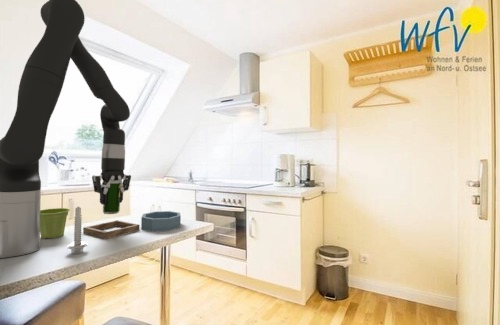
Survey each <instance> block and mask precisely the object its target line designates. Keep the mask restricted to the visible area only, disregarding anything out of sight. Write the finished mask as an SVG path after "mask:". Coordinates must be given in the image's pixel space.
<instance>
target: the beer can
mask: <svg viewBox="0 0 500 325" xmlns="http://www.w3.org/2000/svg"><path fill="white" fill-rule="evenodd" d="M104 185H107V183H104ZM109 185H110V188H108V191H107V193H106V194H107V204H106V205H102V212H103V214H104V215H115V214H118V213H120V210H121V209H120V208H121V207H120V206H121V203H120V186H121V183H120V180H113V181H111V183H110V184H109ZM104 188H105V187H104Z"/></svg>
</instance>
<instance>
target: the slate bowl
mask: <svg viewBox="0 0 500 325" xmlns="http://www.w3.org/2000/svg"><path fill="white" fill-rule="evenodd" d="M140 221H141V224H140V225H141V227H140V229H141V230H144V231H148V232H164V231H165V232H167V231H168V232H169V231H173V230H175V229H179V228H181V221H182V220H181V213H180V212H179V211H178V212H177V211H172V210H169V211H168V210H162V211H161V210H160V211H159V210H158V211H151V212H147V213H143V214H142V215H141V220H140Z"/></svg>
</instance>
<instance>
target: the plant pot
mask: <svg viewBox="0 0 500 325" xmlns="http://www.w3.org/2000/svg"><path fill="white" fill-rule="evenodd" d="M70 210H71V209H70V208H67V207H66V208H65V207H63V208H62V207H58V208H57V207H54V208H46V209H40V239H43V240H44V239H55V238H60V237H62V236H63V235H64V234H65V228H66V223H67V218H68V215H69V212H70Z"/></svg>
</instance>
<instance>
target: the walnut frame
mask: <svg viewBox="0 0 500 325" xmlns="http://www.w3.org/2000/svg"><path fill="white" fill-rule="evenodd" d="M114 227H119V228H117V229H114V230H109V231H107V230H106V231H105V229H110V228H114ZM82 230H83V231H82V233H83V234H86V235H90V236H93V237H97V238H101V239H105V240H108V239H113V238H115V237H119V236H123V235H126V234H130V233H133V232H136V231H137V232H138V231H140V224H137V223H133V222H129V221H128V222H127V221H123V220H111V221H106V222H101V223H97V224H93V225H89V226H84V227H83V228H82Z"/></svg>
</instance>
